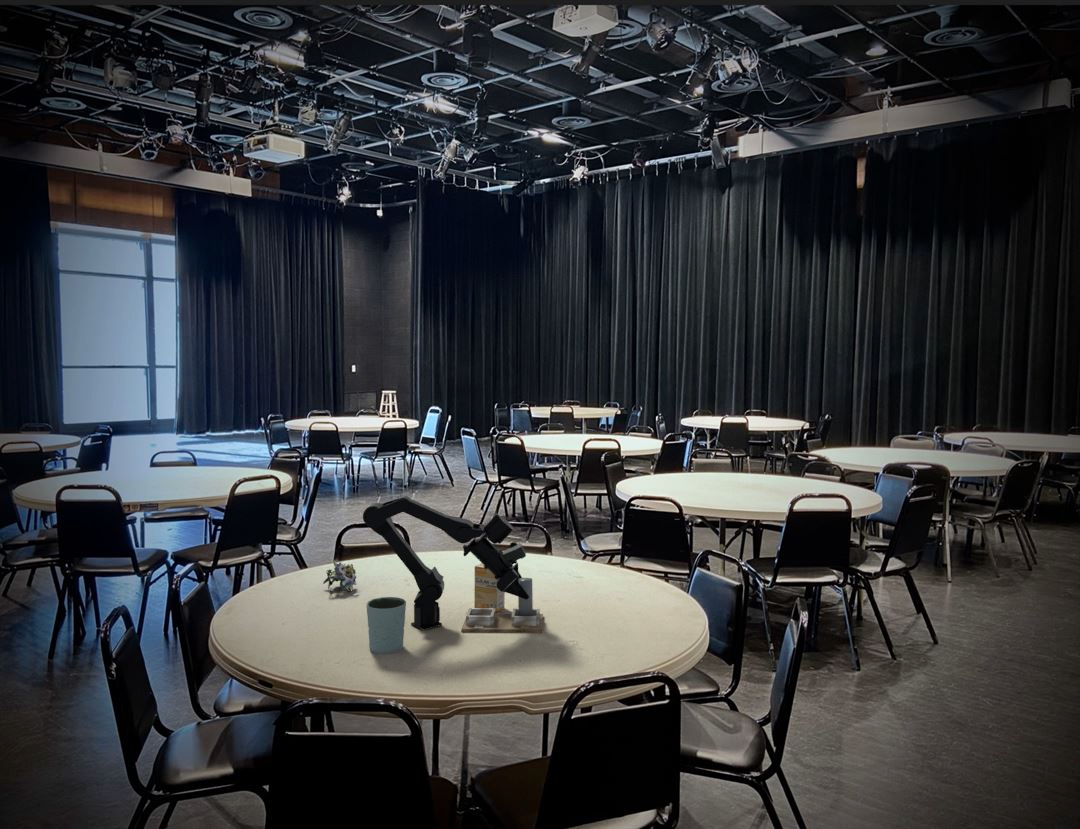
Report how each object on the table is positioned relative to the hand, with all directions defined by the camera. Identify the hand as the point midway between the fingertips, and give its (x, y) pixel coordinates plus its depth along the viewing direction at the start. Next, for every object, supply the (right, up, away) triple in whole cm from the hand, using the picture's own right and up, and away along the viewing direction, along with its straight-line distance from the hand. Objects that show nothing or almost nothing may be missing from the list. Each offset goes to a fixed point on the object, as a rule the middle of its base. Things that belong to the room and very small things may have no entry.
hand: (527, 593), depth 222 cm
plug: (-1, -8, 0) cm, 8 cm away
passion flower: (-62, -7, +35) cm, 72 cm away
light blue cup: (-36, -10, -19) cm, 42 cm away
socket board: (-7, -9, +1) cm, 11 cm away
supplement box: (-12, -8, +15) cm, 21 cm away
